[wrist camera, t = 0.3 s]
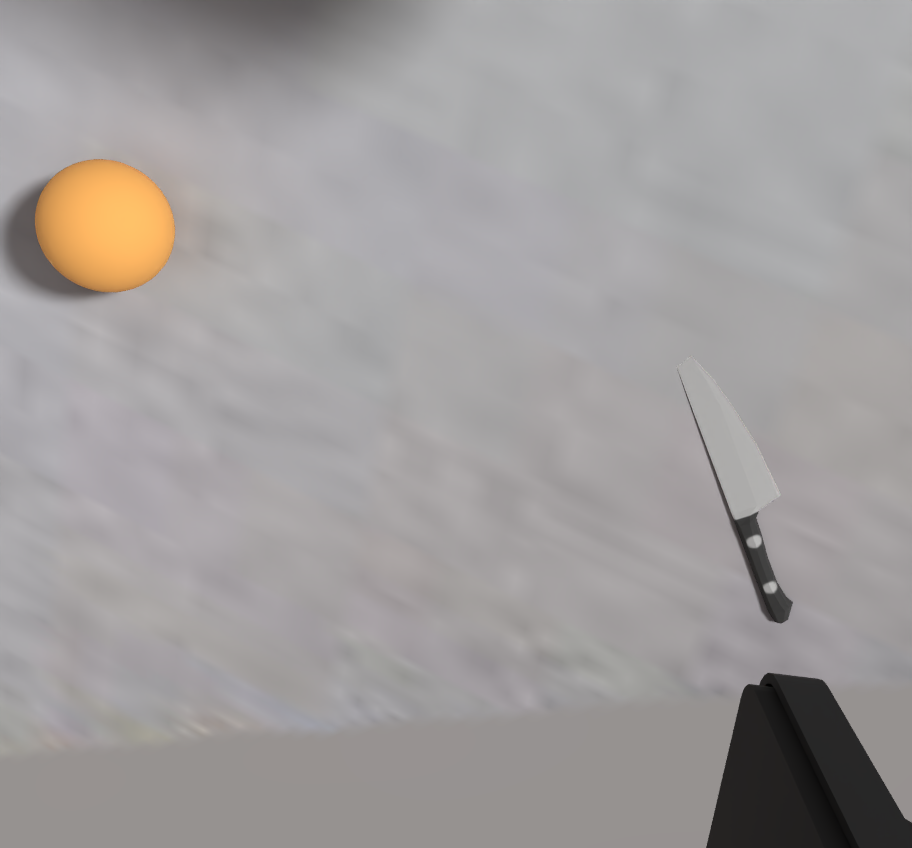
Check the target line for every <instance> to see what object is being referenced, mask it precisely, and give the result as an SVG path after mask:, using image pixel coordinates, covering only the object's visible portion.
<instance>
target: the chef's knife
mask: <svg viewBox="0 0 912 848" xmlns="http://www.w3.org/2000/svg"><path fill="white" fill-rule="evenodd" d="M677 369H678V372H679V374H680V377H681V380H682V383H683V385H684V388H685V391H686V394H687V397H688V399H689V402H690V405H691V407H692V410H693V413H694V416H695V418H696V421H697V424H698V426H699V429H700V432H701V434H702V437H703V440H704V442H705V445H706V448H707V450H708V453H709V456H710V458H711V461H712V464H713V466H714V469H715V472H716V474H717V477H718V480H719V482H720V485H721V488H722V490H723V493H724V496H725V498H726V501H727V504H728V506H729V509H730V512H731V514H732V517H733V519H734V522H735V524H736V527H737V530H738V532H739V535H740V537H741V540H742V543H743V545H744V548H745V551H746V553H747V556H748V559H749V561H750V564H751V566H752V569H753V572H754V574H755V577H756V580H757V582H758V585H759V588H760V590H761V593H762V595H763V598H764V601H765V603H766V606H767V609H768V611H769V613H770V615H771V616H772V618H773V620H774V621H775V622H777V623H783V622H785V621H786V620H788V617H789V613H790V610H791V606H792V603H793V602H792V601H791V600H789V599H788V598H787V597H786V596H785V594H784V593H783V591H782V589H781V588H780V586H779V585H778V583H777V581H776V578H775V576H774V573H773V570H772V568H771V565H770V562H769V560H768V557H767V553H766V549H765V546H764V542H763V538H762V535H761V532H760V528H759V525H758V522H757V519H756V517H757V514H758V512H759V510H761V509H762V508H764V507H765V506H766V505H768V504H769V503H770V502H772V501H773V500H775V499H776V498H778V497H779V496H781V494H780V492H779V490H778V488H777V486H776V484H775V481H774V479H773V477H772V475H771V473H770V471H769V469H768V467H767V465H766V463H765V461H764V459H763V456H762V454H761V452H760V450H759V448H758V446H757V444H756V442H755V440H754V439H753V437H752V436H751V434H750V433H749V431H748V429H747V428H746V426H745V425H744V423H743V422H742V420H741V418H740V417H739V415H738V414H737V412H736V411H735V409H734V407H733V406H732V404H731V403H730V401H729V400H728V398H727V397H726V396H725V394H724V393H723V391H722V390H721V389H720V387H719V386H718V385H717V383H716V382H715V380H714V379H713V378H712V377H711V376H710V375H709V374H708V373H707V372H706V370H705V369H704V368H703V367H702V366H701V365H700V364H699V363H698V362H697V361H696V360H695V359H694V358H693V357H692V356H691V355H690V356H689V357H688V358H687V359H686V360H685V361H684V362H683V363H682V364H681V365H678V366H677Z"/></svg>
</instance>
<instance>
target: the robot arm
mask: <svg viewBox="0 0 912 848" xmlns="http://www.w3.org/2000/svg"><path fill="white" fill-rule="evenodd" d="M706 848H912V823H911V822H910V821H908V820H906V819H905V818H904V817H903V815H902V813H901V811H900V810H899V808H898V806H897V805H896V803H895V801H894V799H893V798H892V796H891V794H890V793H889V791H888V789H887V787H886V786H885V784H884V782H883V781H882V779H881V777H880V775H879V774H878V772H877V770H876V769H875V767H874V765H873V763H872V762H871V760H870V758H869V756H868V755H867V753H866V751H865V750H864V748H863V746H862V745H861V743H860V741H859V739H858V738H857V736H856V734H855V732H854V731H853V729H852V727H851V726H850V724H849V722H848V720H847V719H846V717H845V715H844V713H843V712H842V710H841V708H840V707H839V705H838V703H837V701H836V700H835V698H834V696H833V695H832V693H831V691H830V689H829V688H828V686H827V685H826V684H825V682H824V681H823V680H820V679H815V678H807V677H798V676H790V675H782V674H774V673H767V674H766V675H764V677H763V678H762V680H761V682H760V685H752V684H748V685H747V686H746V687H745V688H744V690H743V693H742V696H741V700H740V704H739V709H738V713H737V717H736V722H735V726H734V730H733V735H732V739H731V743H730V748H729V752H728V756H727V760H726V765H725V769H724V773H723V778H722V782H721V786H720V791H719V795H718V799H717V804H716V808H715V813H714V817H713V821H712V825H711V830H710V834H709V838H708V843H707V847H706Z"/></svg>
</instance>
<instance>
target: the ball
mask: <svg viewBox="0 0 912 848" xmlns="http://www.w3.org/2000/svg"><path fill="white" fill-rule="evenodd" d="M35 228H36V234H37V238H38V241H39V244H40V246H41V249H42V251H43V253H44V254H45V256H46V258H47V259H48V260H49V262H50V263H51V264H52V265H53V266H54V268H55V269H56V270H57V271H59V272H60V273H61V274H62V275H63V276H64V277H66V278H67V279H69V280H70V281H72V282H74V283H75V284H77V285H80V286H82V287H85V288H87V289H91V290H95V291H101V292H121V291H126V290H130V289H134V288H136V287H139V286H141V285H143V284H145V283H146V282H148V281H149V280H151V279H152V278H153V277H154V276H156V275H157V274H158V273H159V271H160V270H161V269H162V268H163V267H164V265H165V264H166V262H167V260H168V259H169V256H170V254H171V251H172V248H173V244H174V238H175V225H174V218H173V214H172V211H171V208H170V205H169V203H168V201H167V199H166V197H165V196H164V194H163V193H162V191H161V190H160V189H159V188H158V187H157V185H156V184H155V183H154V182H153V181H152V180H151V179H149V178H148V177H147V176H146V175H145V174H143V173H142V172H140V171H139V170H137V169H135V168H133V167H131V166H128V165H126V164H123V163H120V162H117V161H111V160H103V159H93V160H87V161H82V162H78V163H75V164H73V165H71V166H69V167H66V168H65V169H63V170H61V171H60V172H59V173H57V174H56V175H55V176H54V177H53V178H52V179H51V180H50V181H49V182H48V184H47V185H46V186H45V188H44V189H43V191H42V193H41V195H40V197H39V200H38V203H37V207H36V212H35Z"/></svg>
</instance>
